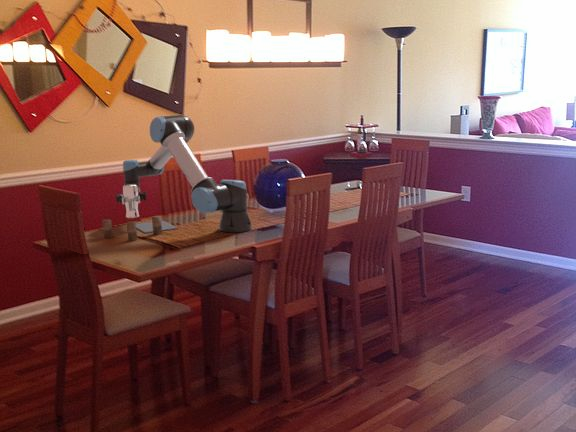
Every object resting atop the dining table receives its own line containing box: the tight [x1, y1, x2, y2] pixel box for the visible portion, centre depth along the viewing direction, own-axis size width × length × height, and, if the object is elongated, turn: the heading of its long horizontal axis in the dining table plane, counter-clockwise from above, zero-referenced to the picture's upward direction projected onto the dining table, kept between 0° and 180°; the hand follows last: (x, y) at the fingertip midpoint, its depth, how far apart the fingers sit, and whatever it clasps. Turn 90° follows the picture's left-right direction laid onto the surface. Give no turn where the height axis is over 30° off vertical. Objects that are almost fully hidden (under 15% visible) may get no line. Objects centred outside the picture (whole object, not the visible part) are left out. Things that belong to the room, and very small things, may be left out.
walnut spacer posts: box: [102, 215, 163, 242], centre depth 319 cm, size 16×25×8 cm, turn 119°
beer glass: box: [122, 184, 140, 219], centre depth 332 cm, size 7×7×15 cm
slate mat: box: [136, 220, 179, 234], centre depth 338 cm, size 20×16×1 cm
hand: (130, 201), depth 327 cm, fingers closed on beer glass, 7 cm apart
